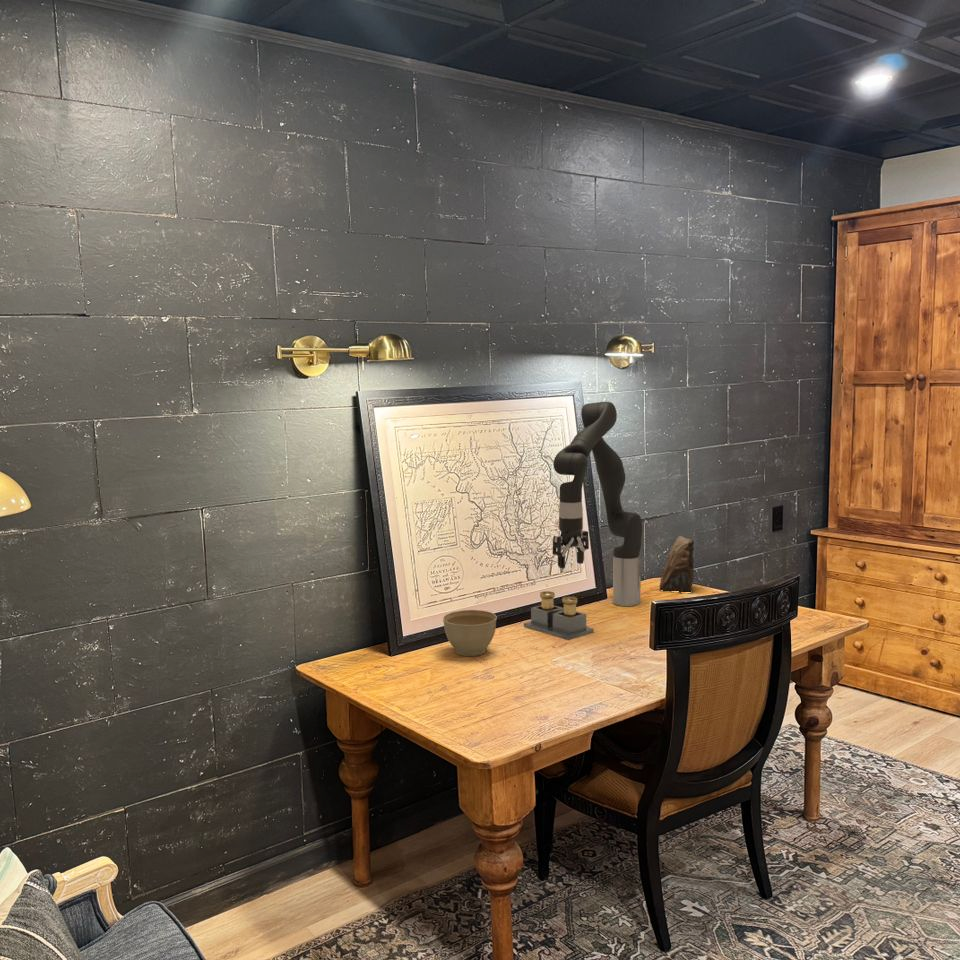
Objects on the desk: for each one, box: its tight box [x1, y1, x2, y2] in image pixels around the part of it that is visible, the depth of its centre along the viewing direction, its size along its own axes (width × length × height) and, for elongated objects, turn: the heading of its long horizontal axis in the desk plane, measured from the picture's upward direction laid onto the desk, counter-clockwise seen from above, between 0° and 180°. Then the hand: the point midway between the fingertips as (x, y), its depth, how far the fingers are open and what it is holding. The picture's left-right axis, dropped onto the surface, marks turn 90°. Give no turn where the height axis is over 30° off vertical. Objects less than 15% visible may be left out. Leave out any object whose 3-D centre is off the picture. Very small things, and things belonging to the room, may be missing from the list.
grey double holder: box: [523, 590, 595, 641], centre depth 295 cm, size 12×20×11 cm, turn 41°
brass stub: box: [561, 596, 578, 617], centre depth 291 cm, size 5×5×10 cm
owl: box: [659, 534, 695, 592], centre depth 344 cm, size 13×13×20 cm
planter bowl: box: [442, 609, 498, 657], centre depth 273 cm, size 16×16×11 cm
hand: (571, 565), depth 290 cm, fingers open, 8 cm apart
